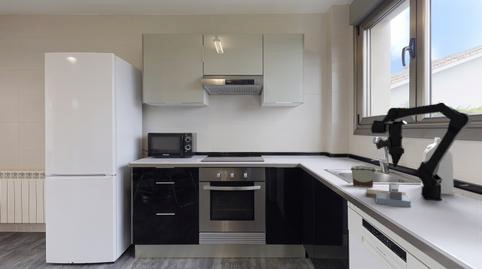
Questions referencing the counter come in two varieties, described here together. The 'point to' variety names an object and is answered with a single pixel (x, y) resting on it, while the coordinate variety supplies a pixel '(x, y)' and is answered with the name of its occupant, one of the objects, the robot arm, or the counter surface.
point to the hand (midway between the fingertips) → (394, 167)
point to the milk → (442, 167)
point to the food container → (363, 176)
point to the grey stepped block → (393, 199)
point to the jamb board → (373, 192)
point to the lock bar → (393, 187)
